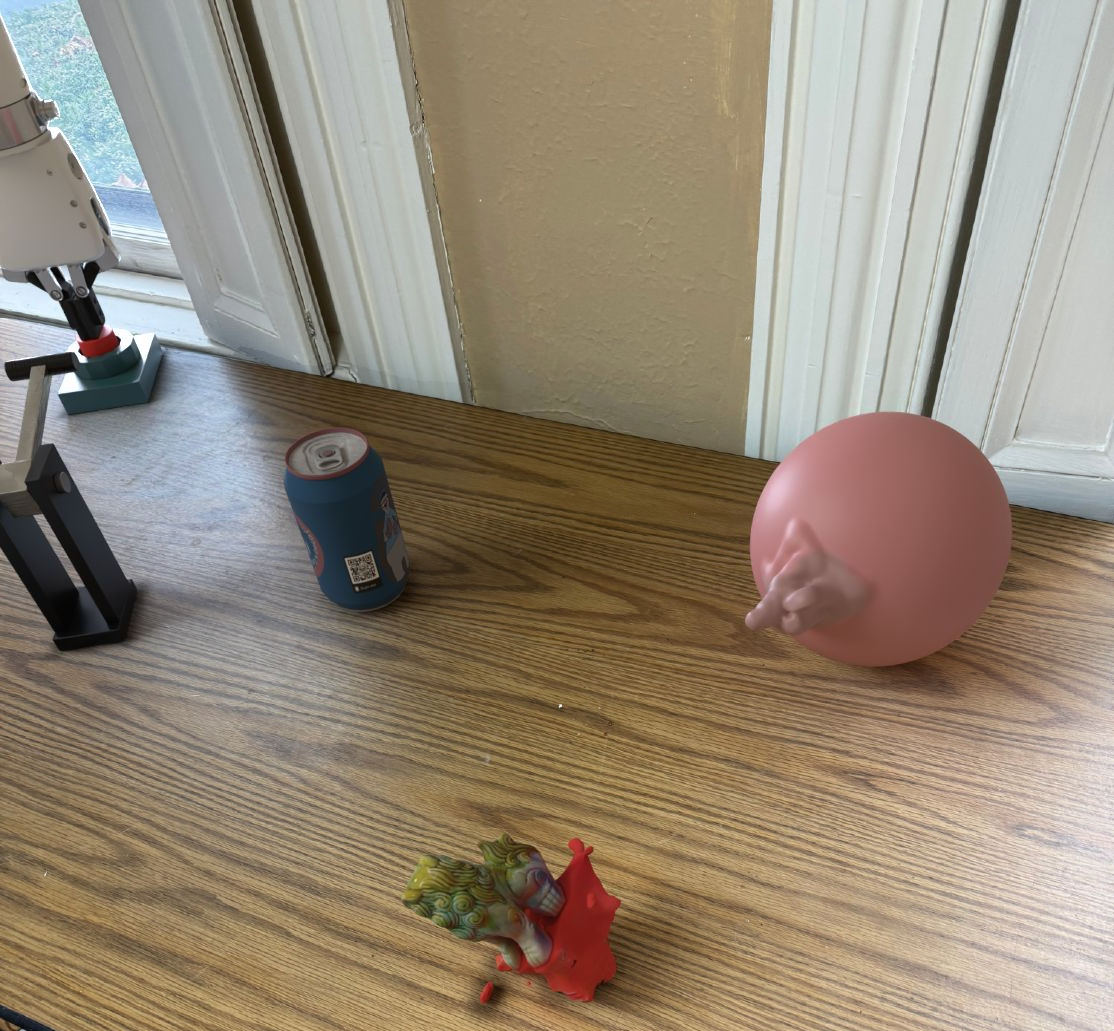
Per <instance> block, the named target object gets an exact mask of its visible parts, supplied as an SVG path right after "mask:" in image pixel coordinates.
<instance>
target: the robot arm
mask: <svg viewBox="0 0 1114 1031" xmlns="http://www.w3.org/2000/svg"><path fill="white" fill-rule="evenodd" d="M60 115H61V114H60V110H59V107H58V104H57V103H56V101H55V100H53V99H49V100H45V99H41V98H40V96H38V93H37V91H36V89H33V88H32V85H31V83H30V80H29V78H28V76H27V73H26V71H25V69H24V67H23V64H22V62H21V59H20V57H19V55H18V52H17V50H16V47H15V45H14V42H13V41H12V37H11V35H10V33H9V31H8V29H7V26H6V24H5V22H4V19H3V16H2V14H1V13H0V269H1V273H2V277H3V278H4V280H5V281H7V282H10V283H19V284H31V285H32V286H34V287H36V288H38V289H39V290H42V291H43V292H45V293H47V294H48V295H49V297H50V298H51V300H53V301H55V302H58V304H59V305H60V308H61V310H62V312H63V314H64V316H65V318H66V321H67V323H68V325H69V327H70V329H72V330H75V331H76V333H77V334H78V335H79V337H80V339H81V341H85V340H88V338H92V339H99V336H100V334H101V331H102V329H103V326H104V324H105V325H106V316H105V313H104V311H103V309H102V307H101V304H100V302H99V300H98V297H97V295H96V293H95V291H94V288H93V285H94V283H95V282H96V279H97V277H98V275H100V274H101V273H104V272H107V271H109V270H111V269H113V268H115V267H118V265H119V264H120V261H121V259H122V255H121V253H120V251H119V250H118V249H117V247H116V245H115V244H114V243H113V241H112V239H111V238H112V237H113V229H112V225H111V222H110V220H109V217H108V215H107V212H106V210H105V208H104V206H103V204H102V202H101V200H100V198H99V196H98V194H97V192H96V189H95V188H94V186H93V184H92V182H91V180H90V178H89V176H88V174H87V172H86V170H85V168H84V167H83V165H82V163H81V161H80V160H79V158H78V156H77V155H76V152H75V151H74V149H73V147H72V146H71V145H70V143H69V140H68V139H67V138H66V136H65V135H64V133H63V132H62V131H61V129H60V128H59V127H49V126H50V122H52V121H53V120H57V119H60V117H61V116H60ZM62 266H63V267H64V266H66V267H67V270H68V274H69V277H70V280H71V283H70V281H69V279H68V277H67V275H66V274H65V273H64V270H62V268H61V267H62Z"/></svg>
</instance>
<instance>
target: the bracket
mask: <svg viewBox="0 0 1114 1031" xmlns="http://www.w3.org/2000/svg"><path fill="white" fill-rule="evenodd" d="M0 464H3V461H2V460H1V459H0ZM24 483H25V484H26V486H27V488H28V489H29V491H30V493H31V495H32V496H33V498H34V500H35V501H36V503H37V505H38V507H39V508H40V510H41V512H42V513H43V514H42V515H43V517H44V518H45V520H46V522H47V523H48V526H49V527H50V529H51V530H52V532H53V534H54V536H55V537H56V539H57V541H58V543H59V544H60V546H61V547H62V550H63V552H64V553H65V555H66V556H67V558H68V560H69V562H70V563H71V564H72V568H74V570H75V572H76V573H77V575H78V577H79V578H80V580H81V582H82V583H83V585H82V586H76V585H75V583H74V582H73V580H72V578H71V576H70V575H69V573H68V571H67V570H66V568H65V567H64V565H63V563H62V561H61V560H60V558H59V556H58V555H57V553H56V551H55V550H54V548H53V546H52V545H51V543H50V541H49V540H48V537H47V535H46V534H45V532H44V531H43V529H42V528H41V526H40V525H39V524H40V523H39V522H38V520H37V519H36V518H35V515H32V516H26V517H19V518H13V517H12V515H11V514H10V513H9V512H8V510H7V509H6V508H5V507H4V506H3V504H2V503H1V502H0V549H1V551H2V553H3V554H4V556H5V558H6V559H7V561H8V562H9V564H10V565H11V567H12V568H13V570H14V571H15V574H16V575H17V576H18V578H19V579H20V581H21V582H22V584H23V586H24V587H25V589H26V590H27V592H28V593H29V595H30V596H31V598H32V600H33V601H34V603H35V604H36V606H37V607H38V609H39V611H40V612H41V613H42V616H43V617H44V618H45V620H46V622H47V623H48V625H49V626H50V628H51V629H52V631H53V636H52V642H53V643H54V644H55V646H56V648H57V649H58V651H59V652H62V651H68V650H76V649H81V648H83V649H84V648H88V647H95V646H101V645H108V644H114V643H121V642H122V643H123V642H125V641H126V638H127V634H128V630H129V627H130V622H131V618H132V614H133V611H134V607H135V603H136V599H137V595H138V591H139V589H138V588H137V586H136V584H135V582H134V581H133V579H132V578H127V577H126V574H125V573H124V571H123V570H122V567H121V565H120V564H119V561H118V560H117V558H116V556H115V554H114V553H113V551H112V549H111V547H110V545H109V543H108V541H107V540H106V538H105V536H104V534H103V532H102V530H101V528H100V526H99V524H98V523H97V521H96V519H95V518H94V516H93V514H92V512H91V510H90V508H89V506H88V504H87V502H86V501H85V498H84V497H83V495H82V493H81V491H80V490H79V487H78V486H77V484H76V482H75V480H74V479H73V477H72V475H71V473H70V471H69V470H68V467H67V465H66V463H65V462H64V460H63V458H62V456H61V455H60V453H59V451H58V449H57V447H56V446H55V444H54V443H53V442H49V443H44V444H41V445H39V447H38V450H37V452H36V454H35V457H34V459H33V462H32V464H31V466H30V469H29V471H28V474H27V476H26V478H25V481H24Z"/></svg>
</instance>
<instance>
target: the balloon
mask: <svg viewBox="0 0 1114 1031" xmlns="http://www.w3.org/2000/svg"><path fill="white" fill-rule="evenodd" d="M750 527H751V529H750V539H749V557H750V564H751V571H752V576H753V578H754V582H755V585H756V588H757V591H758V593H759V596H760V597H761V600H760V601H759V602H758V603H757V605H756V606H755V608H754V609H753V610H751V611H749V612H748V613H747V614H746V616H745V619H744V624H745V626H746V627H747V628H748V629H750V631H753V632H755V631H759V630H764V629H771V630H772V631H774V632H776V633H780V634H782V635H788V636H790V637H791V638H792V639H793V640H794V641H796V642H797V643H798V644H800V645H802V646H803V647H804V648H806V649H808V650H810V651H811V652H813V653H815V654H817V655H818V656H820V657H823V658H826V659H828V660H832V661H834V662H838V663H842V664H846V665H852V666H858V667H873V668H874V667H876V668H877V667H889V666H895V665H896V666H897V665H903V664H906V663H911V662H913V661H916V660H920V659H923V658H925V657H927V656H929V655H932V654H934V653H936V652H938V651H940V650H941V649H943V648H945V647H946V646H948V645H950V644H951V643H953V642H954V641H956V640H957V639H958V638H960V637H961V636H962V635H964V634H965V633H966V632H967V631H968V630H969V629H970V628H971V627H972V626H973V625H974V624H975V623H976V622H977V621H978V620H979V619H980V617H981V616H982V615H983V614H984V613H985V611H986V610H987V609H988V607H990V604H992V601H993V599H994V598H995V596H996V595H997V593H998V591H999V589H1000V587H1001V584H1002V582H1003V580H1004V578H1005V574H1006V572H1007V568H1008V565H1009V561H1010V557H1011V553H1012V552H1011V551H1012V543H1013V520H1012V513H1011V508H1010V503H1009V499H1008V496H1007V492H1006V489H1005V486H1004V485H1003V482H1002V480H1001V478H1000V476H999V474H998V472H997V471H996V469H995V467H994V466H993V465H992V463H991V462H990V460H989V459H988V457H987V456H986V455H985V453H983V451H982V450H981V449H980V448H979V447H978V446H976V444H975V443H974V442H972V441H971V440H970V439H969V438H968V437H966V436H965V435H964V434H962V433H960V431H958V430H956V429H954V428H953V427H951V426H949V425H948V424H946V423H943V422H941V421H939V420H936V419H934V418H932V417H931V418H930V417H927V416H924V415H920V414H915V413H910V412H905V411H904V412H903V411H874V412H866V413H861V414H857V415H853V416H850V417H846V418H844V419H840V420H837V421H834V422H832V423H830V424H829V425H827V426H825V427H822V428H821V429H819V430H817V431H816V432H814V433H812V434H811V435H809V436H808V437H806V438H805V439H803V441H801V442H800V443H799V444H798V445H797V446H796V447H794V448H793V449H792V450H791V451H790V452H789V453H788V454H787V455H786V456H785V457H784V459H782V460H781V461H780V463H779V464H778V466H776V468H775V469H774V471H773V472H772V474H771V476H770V477H769V479H768V480H767V482H766V484H765V486H764V487H763V490H762V492H761V494H760V496H759V498H758V501H757V504H756V507H755V510H754V514H753V518H752V521H751V526H750Z"/></svg>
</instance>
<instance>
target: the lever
mask: <svg viewBox="0 0 1114 1031" xmlns="http://www.w3.org/2000/svg"><path fill="white" fill-rule="evenodd" d="M79 371H80V362H79V359H78V357H77V355H76V353H75V352H73V351H69V352H67V351H64V352H58V353H50V354H44V355H43V354H42V355H38V356H32V357H25V358H18V359H12V360H6V361H5V362H4V372H5V375H6V377H7V379H9V381H11V382H13V383H15V382H21V381H27V380H28V384H27V390H26V396H25V402H24V407H23V414H22V419H21V426H20V432H19V437H18V444H17V448H16V449H17V450H16V455H15V461H10V462H5V463H2V464H0V502H1V503H2V504H3V506H4V507H5V508H6V509H7V510H8V512H9V513H10V514H11V515H12V517H13V518H19V517H26V516H32V515H33V516H38V515H43V513H42V512H41V510H40V508H39V507H38V505H37V503H36V501H35V500H34V498H33V496H32V495H31V493H30V491H29V489H28V488H27V486H26V484H25V483H24V481H25V478H26V476H27V474H28V471H29V469H30V466H31V464H32V462H33V459H34V457H35V454H36V452H37V450H38V447H39V445H43V444H42V443H43V436H44V430H45V424H46V418H47V412H48V405H49V399H50V393H51V386H52V379H53V376H58V375H66V374H67V373H73V372H79Z"/></svg>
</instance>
